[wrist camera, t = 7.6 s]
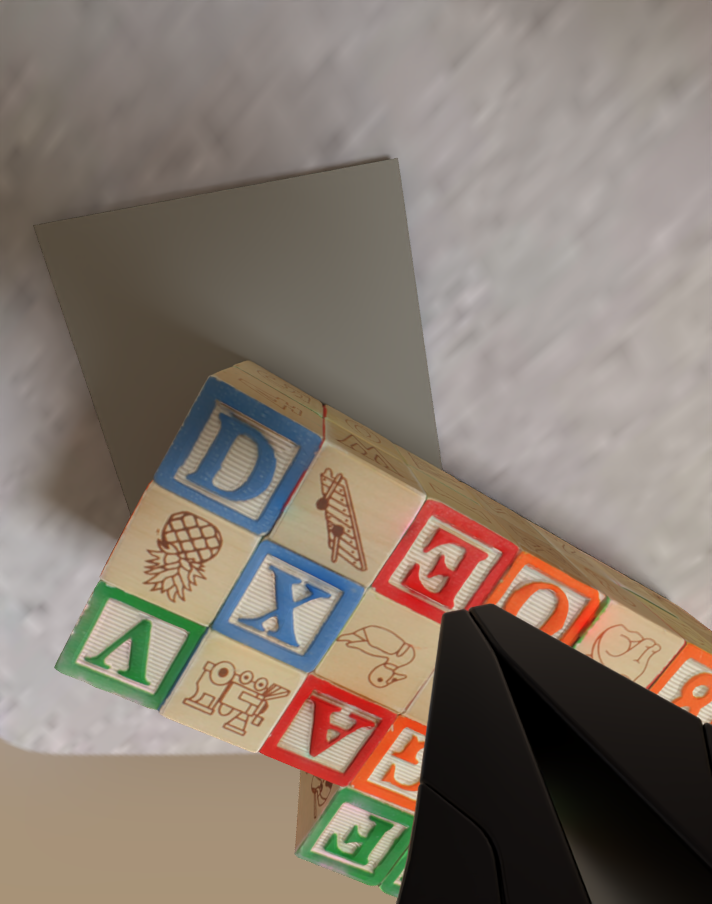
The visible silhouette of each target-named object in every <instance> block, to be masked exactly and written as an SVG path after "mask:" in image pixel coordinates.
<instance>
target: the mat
mask: <svg viewBox="0 0 712 904" xmlns="http://www.w3.org/2000/svg"><path fill="white" fill-rule="evenodd" d="M33 226H34V229H35V232H36V235H37V238H38V241H39V244H40V247H41V250H42V253H43V256H44V258H45V261H46V264H47V267H48V270H49V273H50V276H51V279H52V282H53V285H54V288H55V291H56V294H57V297H58V300H59V303H60V306H61V309H62V312H63V315H64V318H65V321H66V324H67V327H68V330H69V333H70V336H71V339H72V342H73V345H74V348H75V351H76V354H77V356H78V359H79V362H80V365H81V368H82V371H83V374H84V377H85V380H86V383H87V386H88V389H89V392H90V395H91V398H92V401H93V404H94V407H95V410H96V413H97V416H98V419H99V422H100V425H101V428H102V431H103V434H104V437H105V440H106V443H107V446H108V449H109V451H110V454H111V457H112V460H113V463H114V466H115V469H116V472H117V475H118V478H119V481H120V484H121V487H122V490H123V493H124V496H125V499H126V502H127V505H128V508H129V511H130V514H131V515H132V513H133V511H134V510H135V508H136V506H137V504H138V502H139V500H140V499H141V497H142V495H143V493H144V491H145V489H146V488H147V486H148V484H149V483H150V482H151V481H152V480H153V477H154V474H155V472H156V470H157V469H158V467H159V465H160V463H161V461H162V460H163V458H164V456H165V454H166V452H167V451H168V449H169V447H170V445H171V443H172V442H173V440H174V438H175V436H176V434H177V432H178V431H179V429H180V427H181V425H182V423H183V421H184V420H185V418H186V416H187V414H188V412H189V410H190V409H191V407H192V405H193V403H194V401H195V399H196V398H197V396H198V394H199V392H200V390H201V388H202V387H203V385H204V383H205V382H206V380H207V378H208V376H211V375H213V374H215V373H217V372H219V371H222V370H224V369H227V368H230V367H233V365H235V364H238V363H241V362H243V361H252V362H254V363H255V364H257V365H259V366H261V367H262V368H264V369H265V370H267V371H269V372H271V373H272V374H274V375H276V376H278V377H279V378H281V379H283V380H284V381H286V382H288V383H290V384H291V385H293V386H295V387H296V388H298V389H300V390H301V391H303V392H305V393H307V394H308V395H310V396H312V397H313V398H315V399H317V400H319V401H320V402H321V403H322V404H323V405H326V404H327V405H329V406H330V407H332V408H334V409H336V410H338V411H340V412H341V413H343V414H345V415H347V416H348V417H350V418H352V419H353V420H355V421H357V422H359V423H361V424H362V425H364V426H366V427H368V428H369V429H371V430H373V431H374V432H376V433H378V434H379V435H381V436H383V437H385V438H386V439H388V440H389V441H390V442H392V443H393V444H396V445H398V446H400V447H402V448H403V449H405V450H407V451H409V452H410V453H412V454H414V455H416V456H418V457H419V458H421V459H423V460H425V461H427V462H428V463H430V464H432V465H433V466H435V467H437V468H439V469H440V470H442V464H441V457H440V450H439V443H438V436H437V429H436V422H435V415H434V408H433V401H432V394H431V387H430V380H429V373H428V366H427V359H426V352H425V345H424V338H423V331H422V324H421V317H420V310H419V303H418V296H417V289H416V282H415V275H414V268H413V261H412V254H411V247H410V240H409V233H408V226H407V219H406V211H405V204H404V197H403V190H402V183H401V176H400V169H399V162H398V158H395V159H389V160H384V161H378V162H373V163H368V164H362V165H357V166H351V167H346V168H341V169H335V170H330V171H324V172H319V173H314V174H308V175H303V176H298V177H292V178H287V179H281V180H276V181H271V182H265V183H260V184H254V185H249V186H244V187H238V188H233V189H227V190H222V191H217V192H211V193H206V194H200V195H195V196H190V197H184V198H179V199H173V200H168V201H163V202H157V203H152V204H146V205H141V206H136V207H130V208H125V209H119V210H114V211H109V212H103V213H98V214H92V215H87V216H82V217H76V218H71V219H66V220H60V221H55V222H49V223H44V224H39V225H33Z"/></svg>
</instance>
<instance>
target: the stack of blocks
mask: <svg viewBox="0 0 712 904" xmlns="http://www.w3.org/2000/svg"><path fill="white" fill-rule="evenodd" d="M100 579H101V580H100V581H99V582H98V584H97V585H96V587H95V589H94V591H93V592H92V594H91V596H90V598H89V600H88V602H87V604H86V606H85V608H84V610H83V612H82V614H81V616H80V618H79V620H78V622H77V623H76V625H75V627H74V629H73V631H72V633H71V635H70V637H69V639H68V641H67V643H66V645H65V647H64V649H63V651H62V653H61V655H60V657H59V659H58V660H57V663H56V665H55V667H54V668H55V669H56V670H58V671H59V672H61V673H63V674H65V675H68V676H71V677H73V678H76V679H78V680H81V681H84V682H86V683H88V684H90V685H92V686H94V687H96V688H99V689H102V690H105V691H108V692H111V693H114V694H116V695H118V696H120V697H123V698H125V699H127V700H130V701H132V702H135V703H137V704H140V705H142V706H145V707H147V708H150V709H155V710H158V711H159V713H160V714H161V715H163V716H164V717H166V718H168V719H170V720H173V721H175V722H178V723H180V724H183V725H185V726H188V727H190V728H193V729H195V730H198V731H200V732H203V733H205V734H208V735H210V736H213V737H215V738H218V739H220V740H223V741H225V742H228V743H230V744H233V745H235V746H238V747H240V748H243V749H245V750H247V751H250V752H253V753H256V752H260V753H262V754H264V755H266V756H268V757H271V758H273V759H276V760H278V761H281V762H283V763H286V764H288V765H290V766H293V767H295V768H297V769H300V770H301V771H300V785H299V799H298V815H297V831H296V844H295V855H296V856H297V857H298V858H301V859H304V860H306V861H309V862H311V863H314V864H316V865H319V866H321V867H323V868H326V869H329V870H331V871H334V872H337V873H339V874H342V875H344V876H347V877H349V878H352V879H354V880H357V881H359V882H362V883H364V884H367V885H370V886H374V885H378V887H379V888H380V889H381V890H382V891H383V892H384V893H386V894H389V895H392V896H394V897H397V898H398V894H399V889H400V885H401V881H402V877H403V873H404V868H405V864H406V860H407V854H408V848H409V843H410V837H411V831H412V825H413V819H414V813H415V806H416V799H417V792H418V786H419V785H420V773H421V765H422V758H423V750H424V743H425V736H426V728H427V721H428V714H429V706H430V699H431V692H432V684H433V677H434V670H435V662H436V655H437V647H438V640H439V633H440V625H441V618H442V615H443V614H444V613H445V612H450V611H455V610H460V609H466V610H467V611H468V610H469V608H471V607H474V606H479V605H484V604H489V603H492V604H495V605H497V606H498V607H500V608H502V609H504V610H506V611H507V612H509V613H511V614H513V615H515V616H516V617H518V618H520V619H522V620H524V621H525V622H527V623H529V624H531V625H533V626H534V627H536V628H538V629H540V630H542V631H543V632H545V633H547V634H549V635H551V636H553V637H554V638H556V639H558V640H560V641H562V642H563V643H565V644H567V645H569V646H571V647H572V648H574V649H576V650H578V651H580V652H581V653H583V654H585V655H587V656H589V657H590V658H592V659H594V660H596V661H598V662H599V663H601V664H603V665H605V666H607V667H608V668H610V669H612V670H614V671H616V672H617V673H619V674H621V675H623V676H625V677H626V678H628V679H630V680H632V681H634V682H635V683H637V684H639V685H641V686H643V687H645V688H646V689H648V690H650V691H652V692H654V693H655V694H657V695H659V696H661V697H663V698H664V699H666V700H668V701H670V702H672V703H673V704H675V705H677V706H679V707H681V708H682V709H684V710H686V711H688V712H690V713H691V714H693V715H695V716H697V717H699V718H700V719H701V720H702V723H703V724H704V723H710V724H712V631H711V630H710V629H708V628H707V627H706V626H704V625H703V624H702V623H700V622H699V621H698V620H696V619H695V618H694V617H693V616H691V615H690V614H689V613H687V612H686V611H685V610H683V609H682V608H680V607H679V606H677V605H676V604H674V603H672V602H671V601H669V600H667V599H666V598H664V597H662V596H660V595H659V594H657V593H655V592H653V591H651V590H650V589H648V588H646V587H644V586H643V585H641V584H639V583H637V582H636V581H634V580H631V579H629V578H628V577H627V576H625V575H623V574H622V573H620V572H618V571H616V570H615V569H613V568H611V567H609V566H608V565H606V564H604V563H602V562H601V561H599V560H597V559H595V558H593V557H592V556H590V555H588V554H586V553H584V552H582V551H580V550H578V549H577V548H575V547H574V546H572V545H570V544H569V543H567V542H565V541H563V540H562V539H560V538H558V537H556V536H555V535H553V534H551V533H549V532H548V531H546V530H544V529H542V528H541V527H539V526H537V525H535V524H534V523H532V522H530V521H528V520H526V519H524V518H522V517H521V516H519V515H518V514H516V513H515V512H513V511H511V510H510V509H508V508H506V507H504V506H503V505H501V504H499V503H497V502H496V501H494V500H492V499H490V498H489V497H487V496H485V495H483V494H482V493H480V492H478V491H477V490H475V489H473V488H471V487H470V486H468V485H466V484H465V483H462V482H460V481H458V480H457V479H456V478H454V477H453V476H451V475H449V474H447V473H446V472H444V471H442V470H440V469H439V468H437V467H435V466H433V465H432V464H430V463H428V462H427V461H425V460H423V459H421V458H419V457H418V456H416V455H414V454H412V453H410V452H409V451H407V450H405V449H403V448H402V447H400V446H398V445H396V444H393V443H392V442H390V441H389V440H388V439H386V438H385V437H383V436H381V435H379V434H378V433H376V432H374V431H373V430H371V429H369V428H368V427H366V426H364V425H362V424H361V423H359V422H357V421H355V420H353V419H352V418H350V417H348V416H347V415H345V414H343V413H341V412H340V411H338V410H336V409H334V408H332V407H330V406H329V405H327V404H326V405H323V404H322V403H321V402H320V401H319V400H317V399H315V398H313V397H312V396H310V395H308V394H307V393H305V392H303V391H301V390H300V389H298V388H296V387H295V386H293V385H291V384H290V383H288V382H286V381H284V380H283V379H281V378H279V377H278V376H276V375H274V374H272V373H271V372H269V371H267V370H265V369H264V368H262V367H261V366H259V365H257V364H255V363H254V362H252V361H243V362H241V363H238V364H235V365H233V367H230V368H227V369H224V370H222V371H219V372H217V373H215V374H213V375H211V376H208V378H207V380H206V382H205V383H204V385H203V387H202V388H201V390H200V392H199V394H198V396H197V398H196V399H195V401H194V403H193V405H192V407H191V409H190V410H189V412H188V414H187V416H186V418H185V420H184V421H183V423H182V425H181V427H180V429H179V431H178V432H177V434H176V436H175V438H174V440H173V442H172V443H171V445H170V447H169V449H168V451H167V452H166V454H165V456H164V458H163V460H162V461H161V463H160V465H159V467H158V469H157V470H156V472H155V474H154V477H153V480H152V481H151V482H150V483H149V484H148V486H147V488H146V489H145V491H144V493H143V495H142V497H141V499H140V500H139V502H138V504H137V506H136V508H135V510H134V511H133V513H132V515H131V517H130V519H129V521H128V522H127V524H126V526H125V528H124V530H123V532H122V534H121V536H120V538H119V540H118V541H117V543H116V545H115V547H114V549H113V551H112V553H111V555H110V557H109V559H108V561H107V563H106V565H105V567H104V569H103V571H102V573H101V575H100Z"/></svg>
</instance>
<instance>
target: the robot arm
mask: <svg viewBox="0 0 712 904" xmlns="http://www.w3.org/2000/svg"><path fill="white" fill-rule="evenodd" d="M396 904H712V724H710V723H704V724H703V723H702V720H701V719H700V718H699V717H697V716H695V715H693V714H691V713H690V712H688V711H686V710H684V709H682V708H681V707H679V706H677V705H675V704H673V703H672V702H670V701H668V700H666V699H664V698H663V697H661V696H659V695H657V694H655V693H654V692H652V691H650V690H648V689H646V688H645V687H643V686H641V685H639V684H637V683H635V682H634V681H632V680H630V679H628V678H626V677H625V676H623V675H621V674H619V673H617V672H616V671H614V670H612V669H610V668H608V667H607V666H605V665H603V664H601V663H599V662H598V661H596V660H594V659H592V658H590V657H589V656H587V655H585V654H583V653H581V652H580V651H578V650H576V649H574V648H572V647H571V646H569V645H567V644H565V643H563V642H562V641H560V640H558V639H556V638H554V637H553V636H551V635H549V634H547V633H545V632H543V631H542V630H540V629H538V628H536V627H534V626H533V625H531V624H529V623H527V622H525V621H524V620H522V619H520V618H518V617H516V616H515V615H513V614H511V613H509V612H507V611H506V610H504V609H502V608H500V607H498V606H497V605H495V604H492V603H489V604H484V605H479V606H474V607H471V608H469V610H468V611H467V610H466V609H460V610H455V611H450V612H445V613H444V614H443V615H442V618H441V625H440V633H439V640H438V647H437V655H436V662H435V670H434V677H433V684H432V692H431V699H430V706H429V714H428V721H427V728H426V736H425V743H424V750H423V758H422V765H421V773H420V785H419V786H418V792H417V799H416V806H415V813H414V819H413V825H412V831H411V837H410V843H409V848H408V854H407V860H406V864H405V868H404V873H403V877H402V881H401V885H400V889H399V894H398V898H397V902H396Z"/></svg>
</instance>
